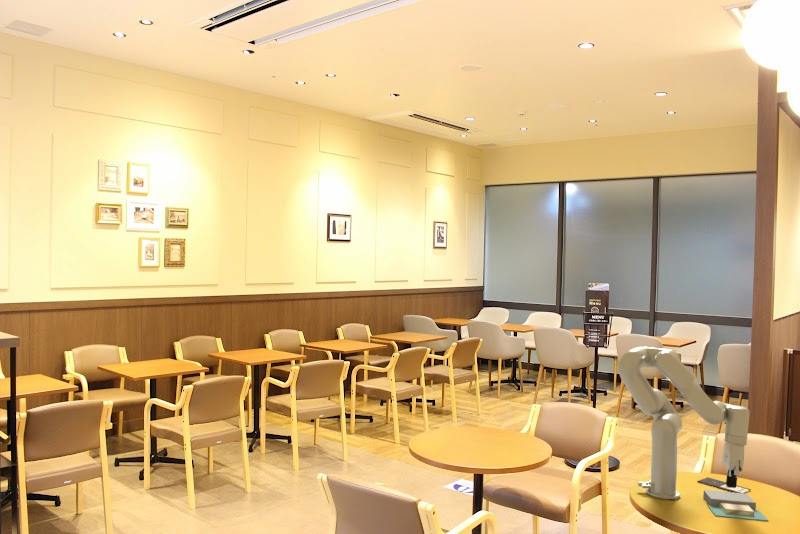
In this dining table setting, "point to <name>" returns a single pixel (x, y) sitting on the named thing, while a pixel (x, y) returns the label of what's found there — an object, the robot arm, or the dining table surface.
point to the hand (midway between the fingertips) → (731, 486)
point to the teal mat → (720, 513)
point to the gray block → (728, 498)
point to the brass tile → (736, 509)
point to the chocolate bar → (723, 485)
